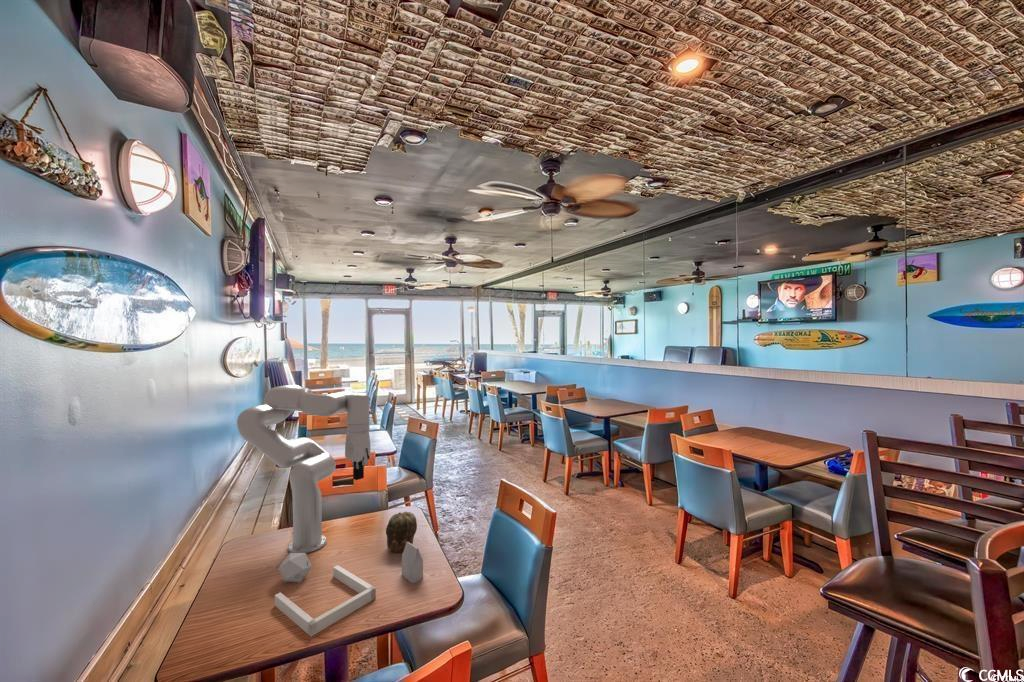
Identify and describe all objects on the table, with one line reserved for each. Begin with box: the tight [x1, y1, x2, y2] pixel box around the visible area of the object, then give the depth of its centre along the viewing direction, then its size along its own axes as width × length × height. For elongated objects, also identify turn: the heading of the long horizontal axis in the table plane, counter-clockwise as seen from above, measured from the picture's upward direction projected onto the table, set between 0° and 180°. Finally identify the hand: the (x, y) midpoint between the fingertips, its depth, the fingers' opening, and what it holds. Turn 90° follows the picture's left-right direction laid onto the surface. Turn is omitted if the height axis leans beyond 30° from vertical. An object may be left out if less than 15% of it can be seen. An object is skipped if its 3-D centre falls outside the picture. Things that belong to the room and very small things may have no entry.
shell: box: [385, 511, 418, 554], centre depth 147 cm, size 11×11×12 cm
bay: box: [274, 564, 377, 637], centre depth 116 cm, size 20×19×3 cm
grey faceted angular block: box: [401, 541, 424, 584], centre depth 129 cm, size 4×7×10 cm, turn 44°
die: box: [277, 552, 313, 583], centre depth 127 cm, size 8×9×10 cm
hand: (358, 478), depth 144 cm, fingers closed
